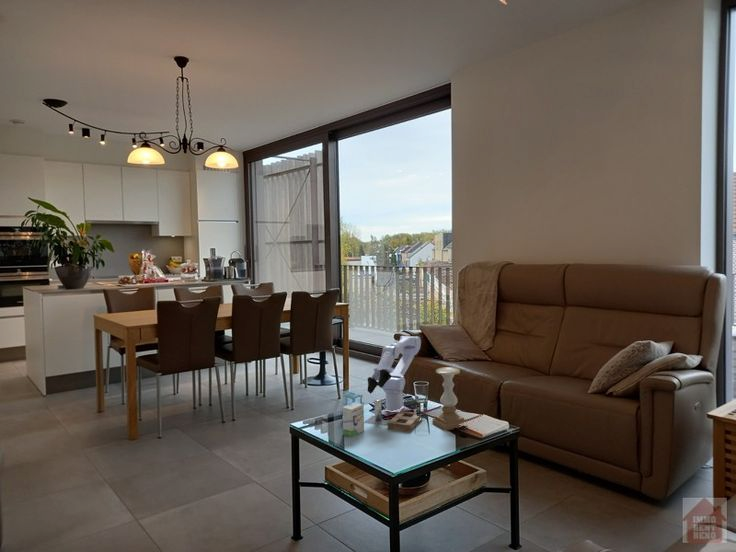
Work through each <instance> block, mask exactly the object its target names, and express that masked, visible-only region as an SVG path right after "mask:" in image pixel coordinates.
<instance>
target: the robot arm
mask: <svg viewBox="0 0 736 552" xmlns="http://www.w3.org/2000/svg"><path fill="white" fill-rule="evenodd" d="M399 337H400V338H399V340H394V341H393V343H391V344H390V345H385V346H384V347H383V346H382V347H383V348H382V352H381V354H380V355H381V356H380V359H379V362H378V365H377V367H375V368H373V374H372V375H371V376H369V377H367V392H368V393H369V395H370V394H372V393H373V392H374V391H375V389H376V388H377V387H379V388H380V389H382V390H383V392H384V393H385V409H387V410H397V409H400V408H401V407H402V406H405V405H404V392H403V391H404V389H405V385H406V379H405V376H404V375H405V374H406V372H407V371H408V369H409V367H410V365H411V363H412V361H413V359H414V357H415V356H416V355H417V354H418V353H419V351H420V349H421V344H422V340H421V338H420V336H417V335H416V336H411V335H410V336H407V335H401V336H399ZM400 354H401V355H402V356H401V358H400V359H399V355H400ZM395 359H396V360H397V359H399V361H398V363H397V364H396V366H395V368H394V369H393V368H392V365H393V363H394V361H395Z"/></svg>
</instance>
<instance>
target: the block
mask: <svg viewBox="0 0 736 552" xmlns="http://www.w3.org/2000/svg"><path fill="white" fill-rule="evenodd" d="M416 413H417V412H411V411H404V410H402V411H400V412H399V413H396V414H395V416H394V417H391V418H392V419H391V420H390V421H389V422H388V423H387V424H386V425H387V430H393V431H402V432H408V433H409V432H411V431H412V430H413V429H414V428H416V426H417V425H418V424H419V423H420V422H419V420H420V417H419V416H417V415H416ZM418 422H419V423H418Z"/></svg>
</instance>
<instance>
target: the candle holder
mask: <svg viewBox="0 0 736 552" xmlns="http://www.w3.org/2000/svg"><path fill="white" fill-rule="evenodd" d="M460 372H461V370H460V369H459V368H458V367H452V366H446V367H445V366H444V367H439V368H436V370H435V373H437V374H438V375H441V376H442V378H443V382H442V387H443V390H444V392H443V393H442V395H441V397H440V400H439V401H440V404H441V405H442V407H441V411H442V413H440V414H438V415H437V414H436V415H435V416H434V418H432V424H433V425H435V426H436V427H438V428H440V429H442V430H444V431H452V430H455V429H454V428H455V427H456V426H457V425H458V424H460V423H463V422H467V421H466V420H465V417H463V416H461V415H460V414H458V413H457V407H456V405H457V403H458V397H457V396H456V395H455V394H456V393H454V391H453V389H454V386H455V383H454V382H453V378H454V377H455V375H458V374H460Z"/></svg>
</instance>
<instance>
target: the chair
mask: <svg viewBox="0 0 736 552" xmlns="http://www.w3.org/2000/svg"><path fill="white" fill-rule="evenodd" d="M357 398H360V399H359V401H358V400H356V399H357ZM348 399H350V401H348ZM362 399H363V395H362V394H358V393H354V392H351V391H350V392H347V393H346V394H344V400H345V402H343V406H344V407H345V406H347V405H349V404H352V403H360V404H365V403H364V402H363V400H362ZM341 418H342V419H343V416H341Z"/></svg>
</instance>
